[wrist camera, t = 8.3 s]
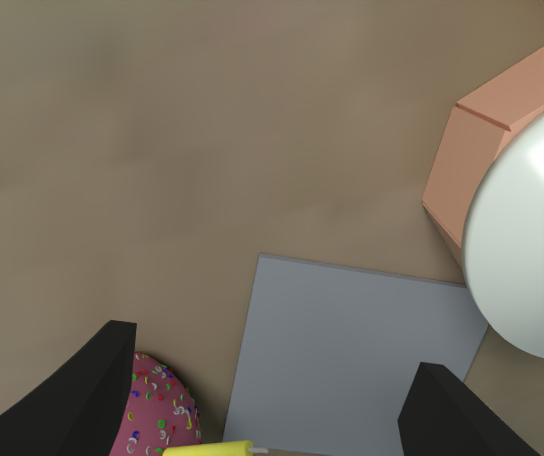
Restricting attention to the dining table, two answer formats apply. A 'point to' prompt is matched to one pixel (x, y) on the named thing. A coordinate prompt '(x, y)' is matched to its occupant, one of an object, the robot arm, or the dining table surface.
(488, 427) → the robot arm
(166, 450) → the cupcake
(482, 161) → the bowl
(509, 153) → the lid
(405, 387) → the mat
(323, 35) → the dining table surface
